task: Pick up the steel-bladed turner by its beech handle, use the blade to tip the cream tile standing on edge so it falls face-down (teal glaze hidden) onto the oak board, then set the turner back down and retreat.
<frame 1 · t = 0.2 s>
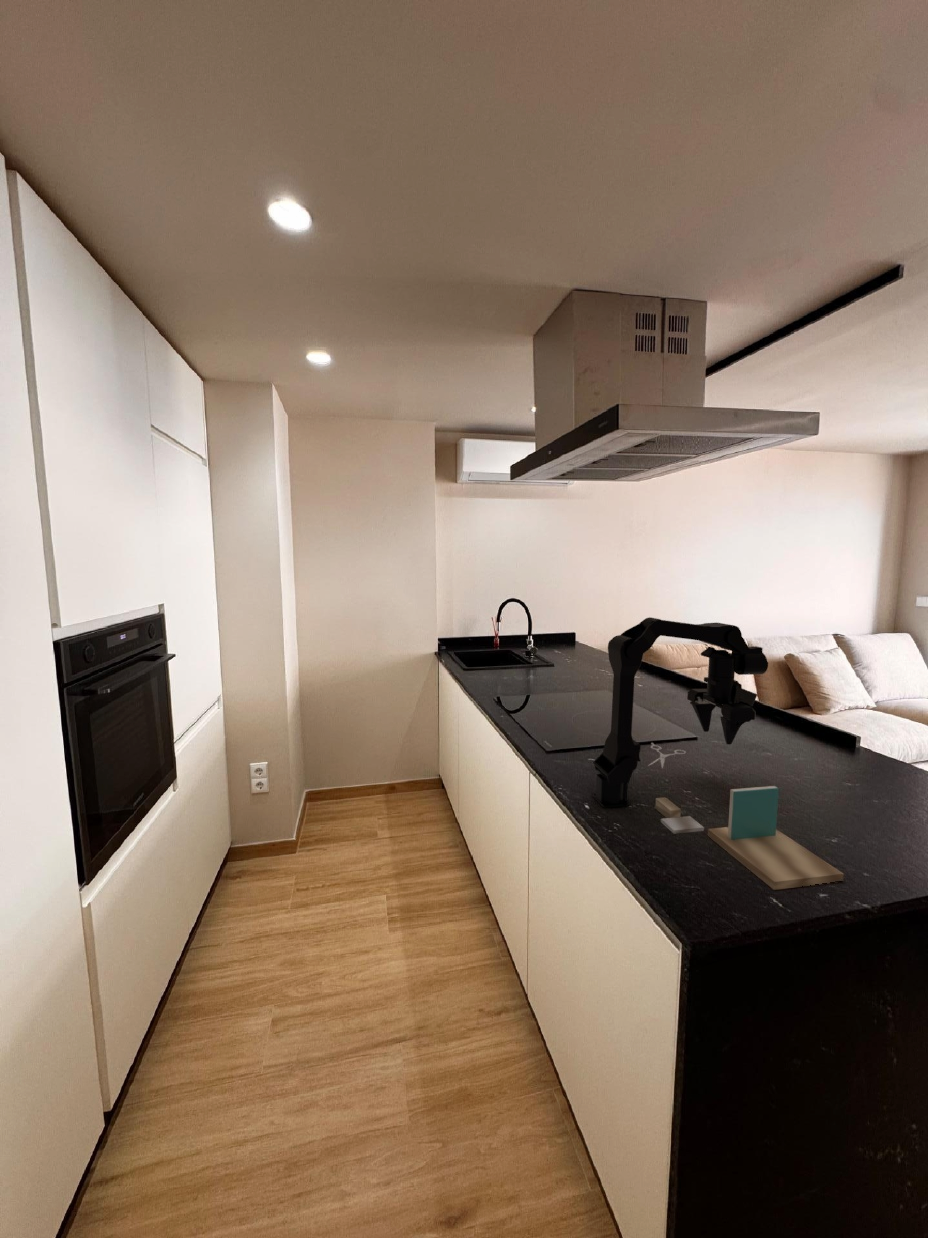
hand: (717, 737, 124), 14 cm above the countertop, tool pointing down, fingers open, 9 cm apart
turner: (667, 814, 115), on the countertop
oak board: (770, 857, 98), on the countertop
scissors: (662, 759, 149), on the countertop
tile: (753, 812, 102), point 6 cm above the countertop, touching oak board
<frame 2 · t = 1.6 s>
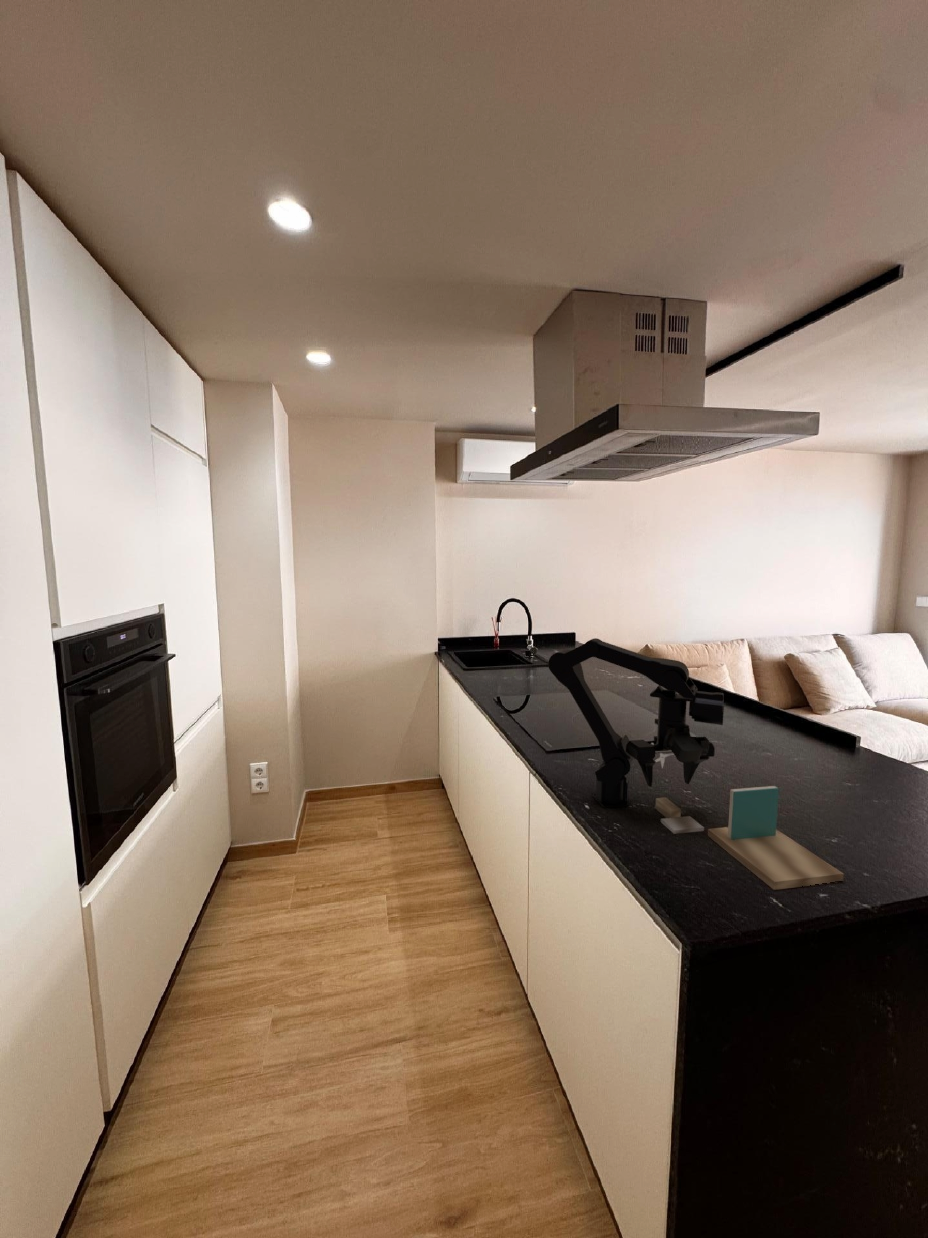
hand: (668, 784, 114), 7 cm above the countertop, tool pointing down, fingers open, 9 cm apart
nothing on the countertop moved.
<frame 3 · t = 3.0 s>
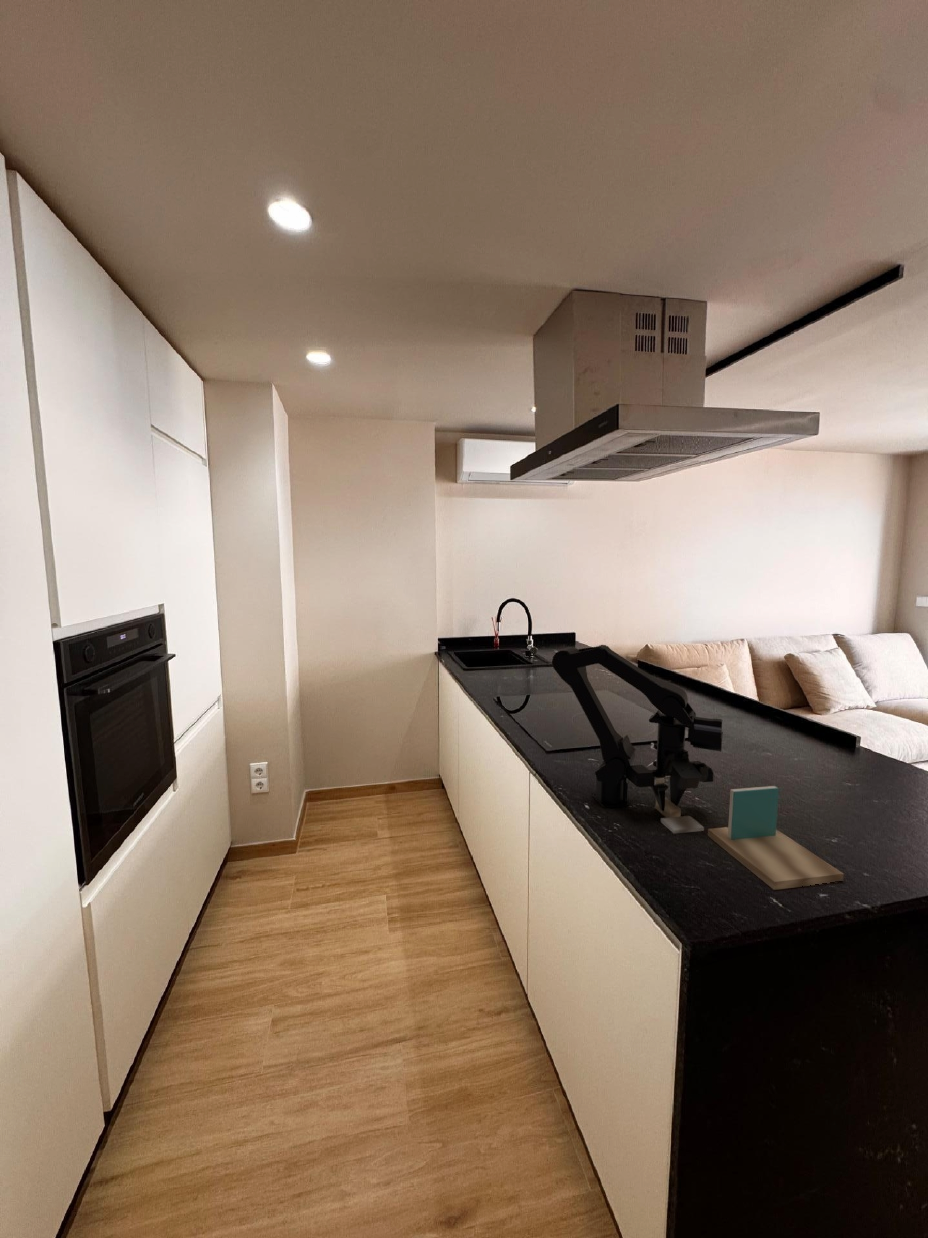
hand: (667, 809, 115), 1 cm above the countertop, tool pointing down, fingers closed on turner, 2 cm apart
turner: (667, 814, 115), on the countertop, touching gripper
everything else where it was.
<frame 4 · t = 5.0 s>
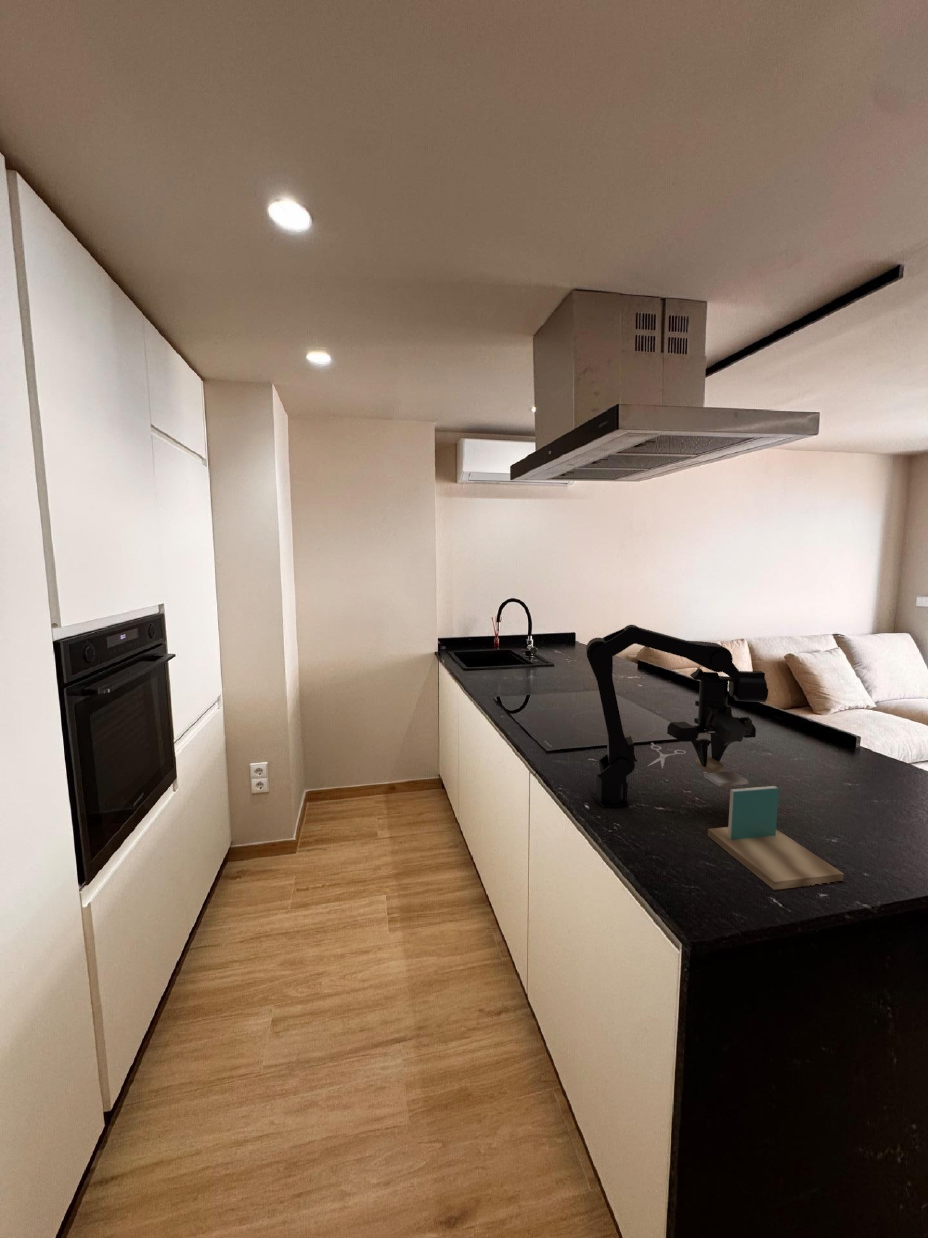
hand: (709, 766, 115), 11 cm above the countertop, tool pointing down, fingers closed on turner, 2 cm apart
turner: (709, 770, 116), point 10 cm above the countertop, touching gripper
everything else where it was.
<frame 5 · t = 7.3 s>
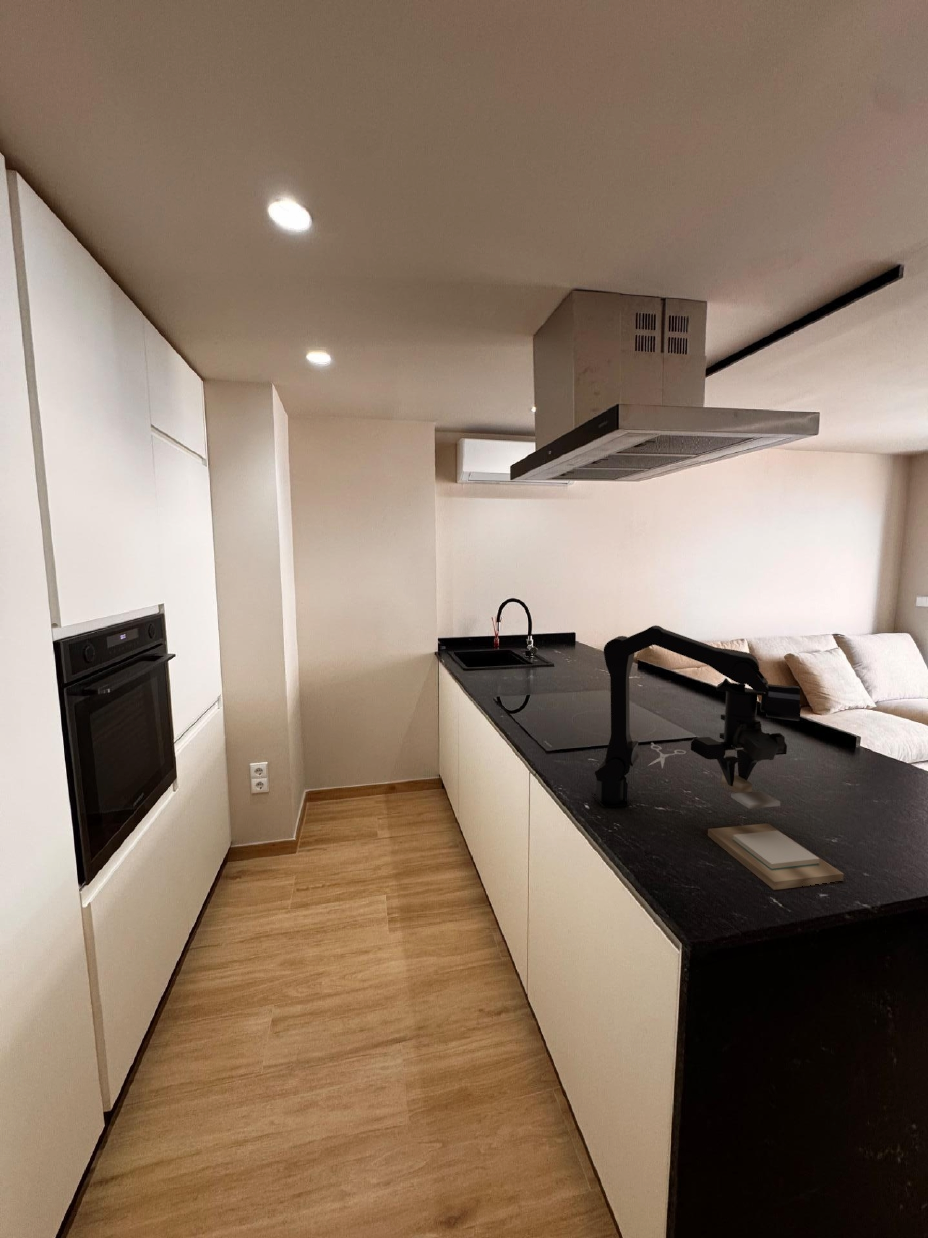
hand: (736, 784, 107), 10 cm above the countertop, tool pointing down, fingers closed on turner, 2 cm apart
turner: (736, 789, 107), point 9 cm above the countertop, touching gripper
tile: (774, 849, 97), point 2 cm above the countertop, tilted 90°, touching oak board
everything else where it was.
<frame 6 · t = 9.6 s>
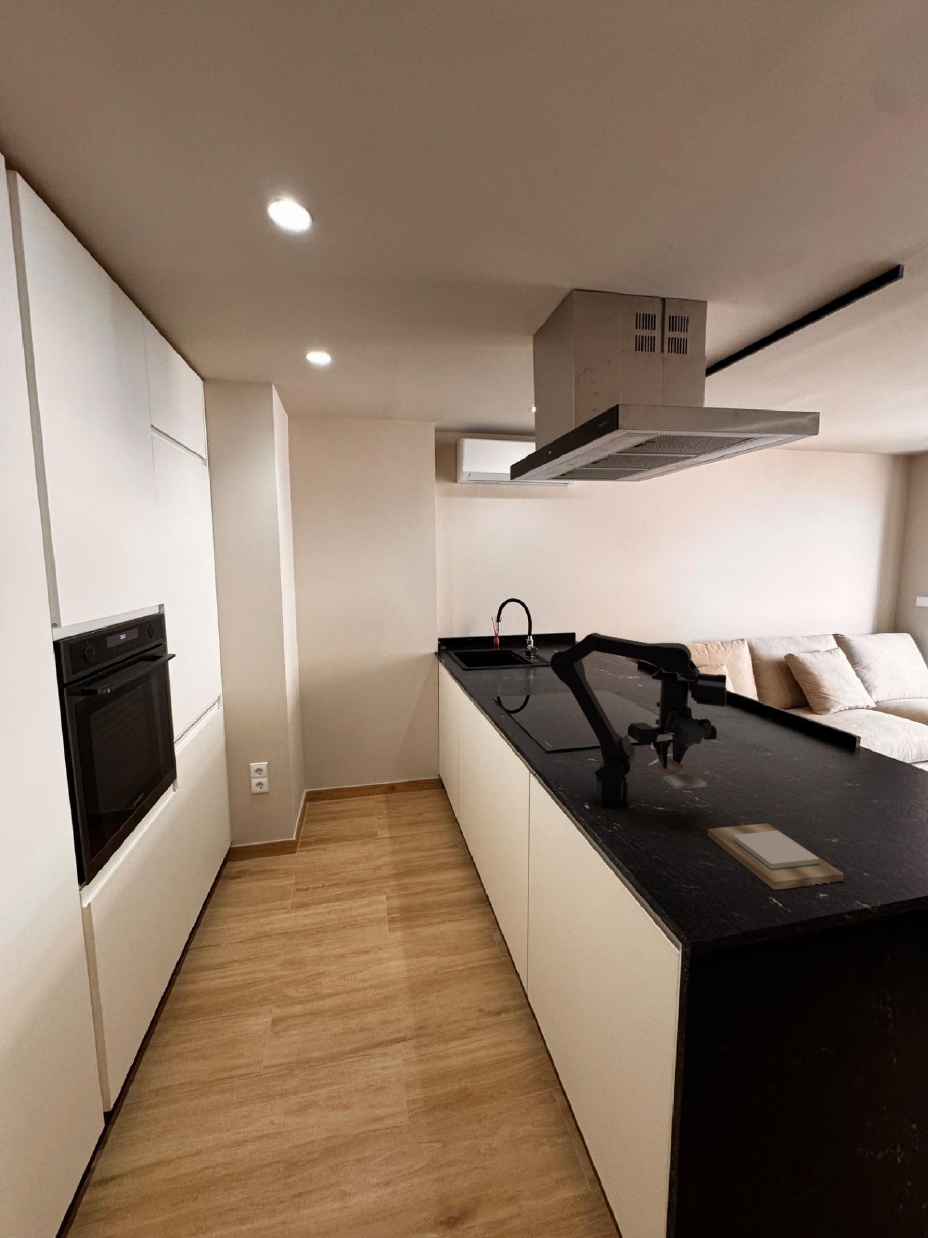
hand: (669, 768, 114), 11 cm above the countertop, tool pointing down, fingers closed on turner, 2 cm apart
turner: (669, 772, 114), point 10 cm above the countertop, touching gripper
everything else where it was.
when the fingers open (2 cm above the countertop, at t = 11.5 s): turner drops 1 cm, on the countertop.
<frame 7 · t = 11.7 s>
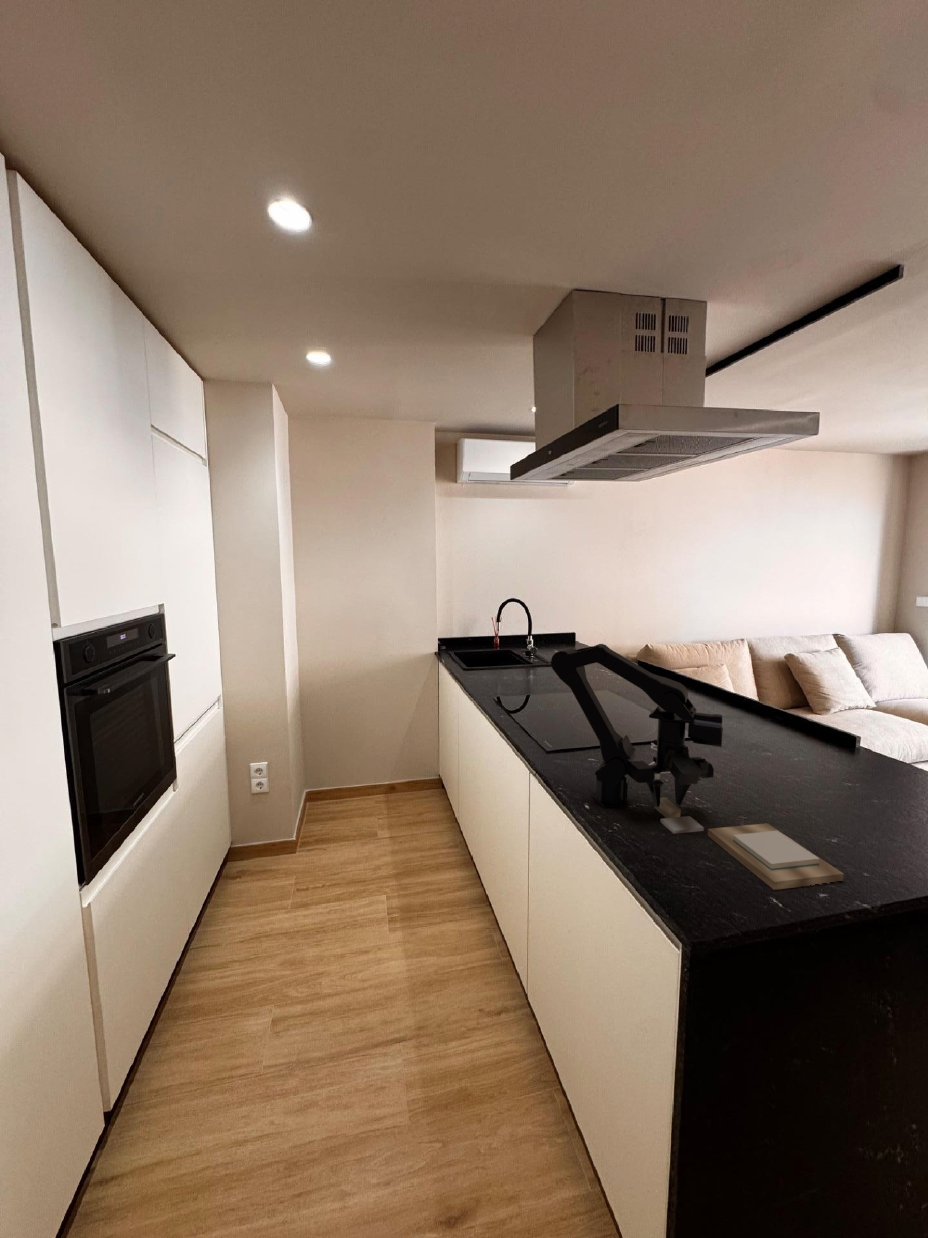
hand: (667, 805, 115), 2 cm above the countertop, tool pointing down, fingers open, 5 cm apart
turner: (667, 814, 115), on the countertop
everything else where it was.
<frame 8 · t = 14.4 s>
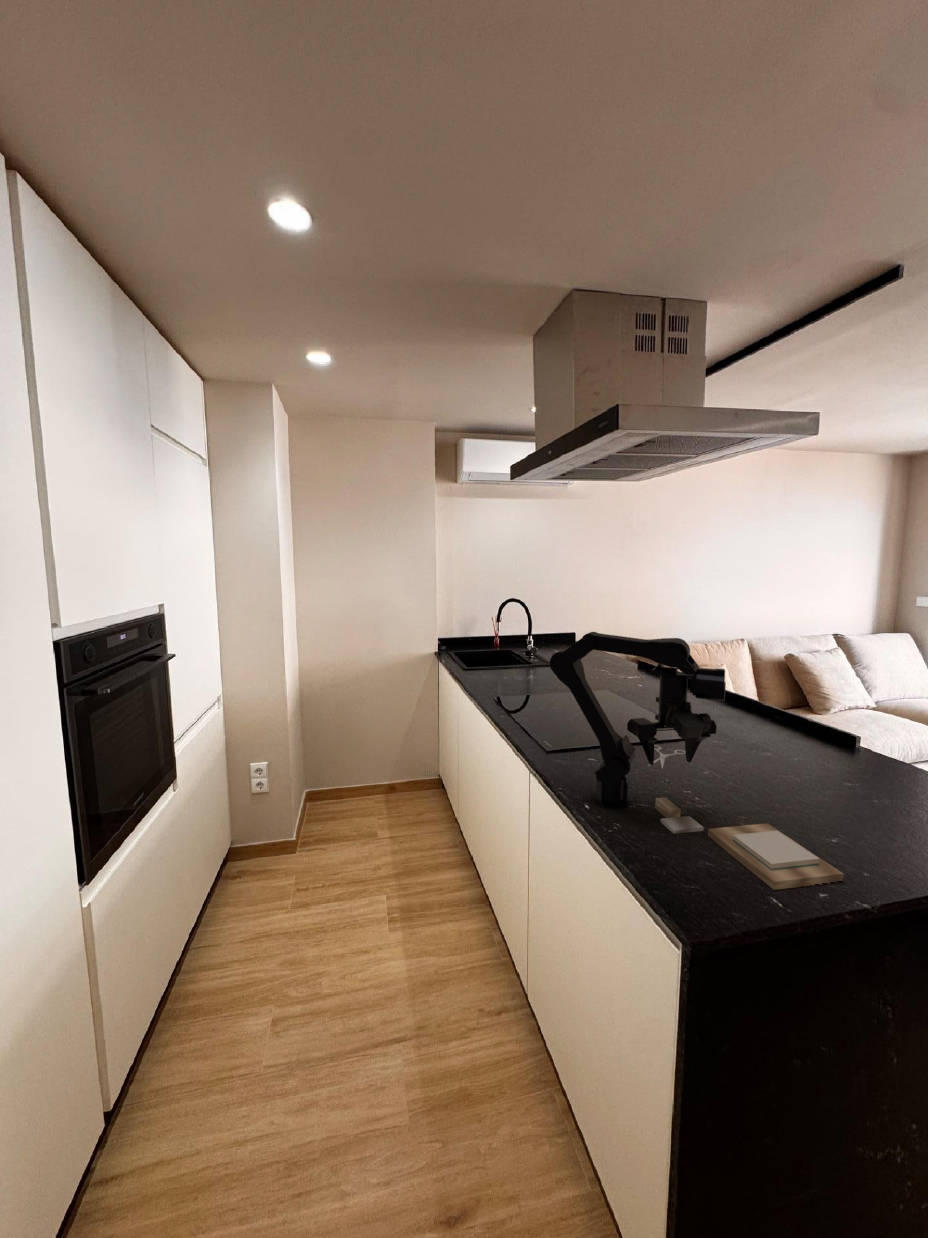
hand: (670, 763, 114), 12 cm above the countertop, tool pointing down, fingers open, 9 cm apart
nothing on the countertop moved.
at the end: tile inside the target area (0.1 cm from its centre), point 2.1 cm above the countertop; tile tilted 90°; turner inside the target area (0.0 cm from its centre), on the countertop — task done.
